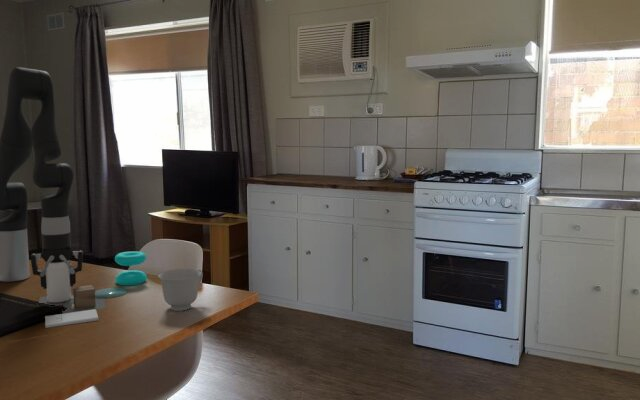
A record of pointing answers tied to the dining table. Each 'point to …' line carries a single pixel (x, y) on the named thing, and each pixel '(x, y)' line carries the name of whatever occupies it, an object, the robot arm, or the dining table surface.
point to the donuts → (133, 275)
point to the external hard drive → (71, 318)
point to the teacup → (180, 287)
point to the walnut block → (84, 296)
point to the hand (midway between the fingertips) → (58, 286)
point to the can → (58, 282)
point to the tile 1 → (44, 300)
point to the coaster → (110, 292)
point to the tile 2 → (98, 302)
